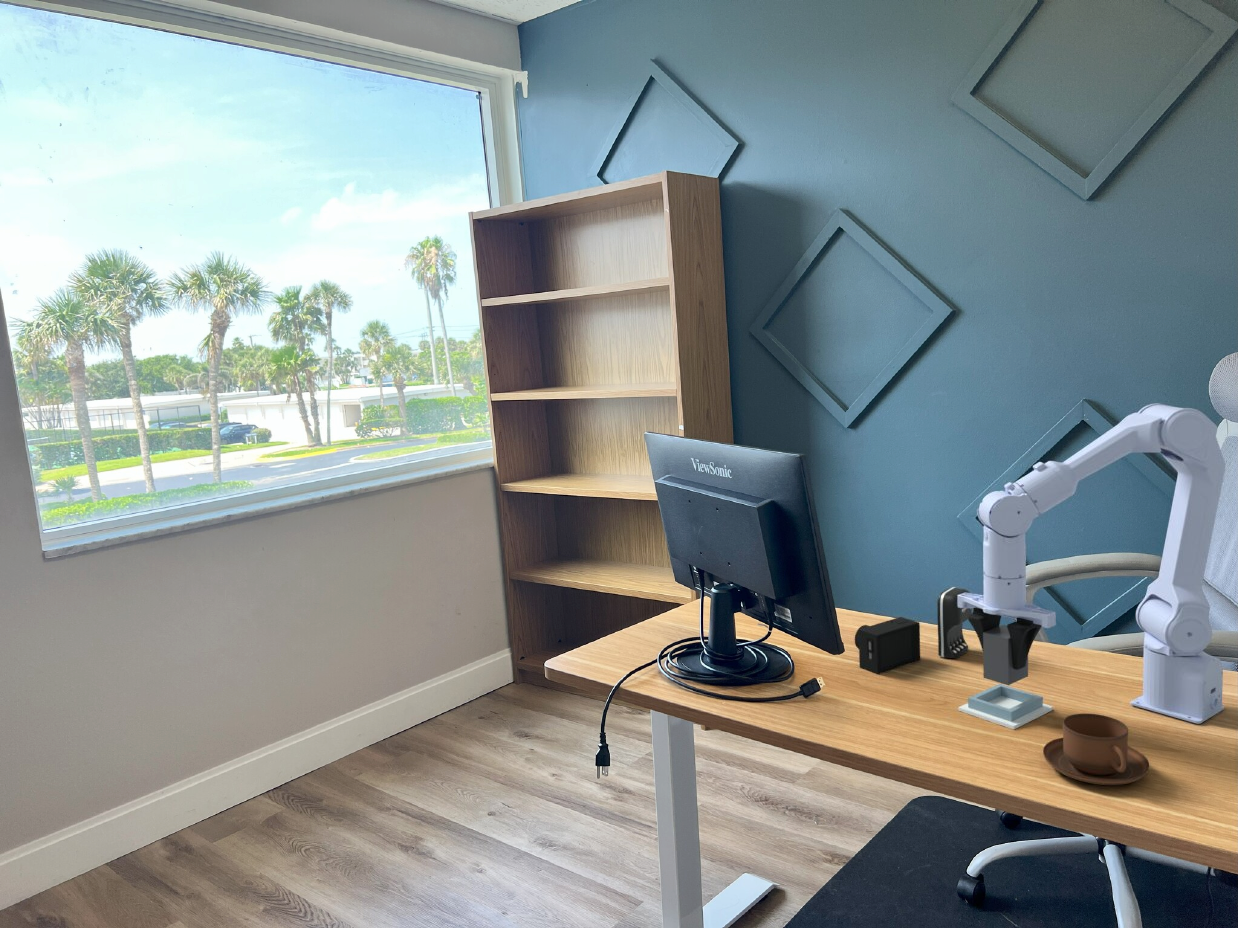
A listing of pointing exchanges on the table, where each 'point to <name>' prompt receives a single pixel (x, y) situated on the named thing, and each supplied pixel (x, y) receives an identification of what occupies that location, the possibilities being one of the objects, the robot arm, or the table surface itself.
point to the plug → (1000, 657)
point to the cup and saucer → (1096, 751)
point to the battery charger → (951, 623)
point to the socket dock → (1006, 706)
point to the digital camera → (888, 645)
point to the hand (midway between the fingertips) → (1004, 663)
